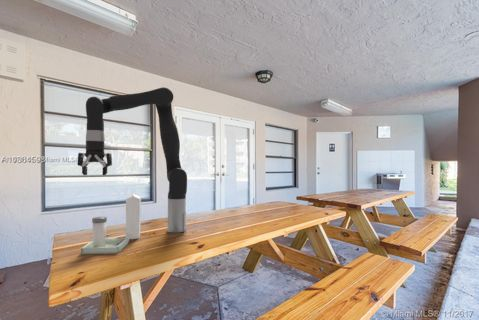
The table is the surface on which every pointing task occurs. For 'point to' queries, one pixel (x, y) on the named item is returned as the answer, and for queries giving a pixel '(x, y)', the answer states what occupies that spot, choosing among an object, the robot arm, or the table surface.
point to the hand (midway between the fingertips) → (94, 175)
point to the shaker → (99, 231)
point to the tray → (109, 249)
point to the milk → (133, 216)
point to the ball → (118, 240)
